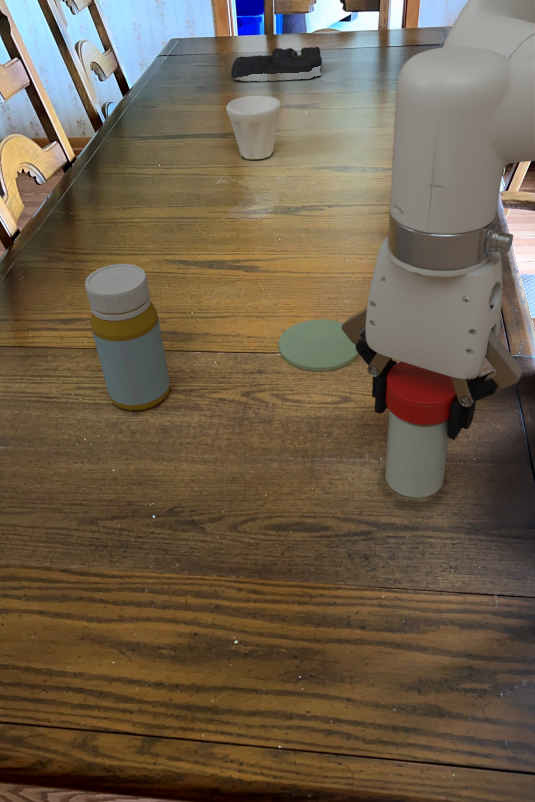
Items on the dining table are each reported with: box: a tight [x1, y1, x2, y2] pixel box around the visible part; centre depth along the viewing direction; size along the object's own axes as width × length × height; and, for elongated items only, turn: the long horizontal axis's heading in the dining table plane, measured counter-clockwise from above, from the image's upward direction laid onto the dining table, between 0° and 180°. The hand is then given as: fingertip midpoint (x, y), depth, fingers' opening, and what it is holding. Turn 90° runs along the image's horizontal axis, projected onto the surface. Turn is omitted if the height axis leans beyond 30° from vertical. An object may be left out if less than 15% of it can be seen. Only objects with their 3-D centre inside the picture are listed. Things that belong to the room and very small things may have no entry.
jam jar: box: [384, 409, 451, 499], centre depth 66 cm, size 6×6×11 cm
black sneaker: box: [231, 46, 323, 78], centre depth 173 cm, size 15×22×5 cm
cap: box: [386, 361, 457, 425], centre depth 62 cm, size 6×6×2 cm
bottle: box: [84, 263, 171, 412], centre depth 77 cm, size 7×7×15 cm
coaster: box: [278, 318, 360, 372], centre depth 86 cm, size 10×10×1 cm
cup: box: [225, 95, 282, 159], centre depth 132 cm, size 10×10×9 cm
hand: (420, 415), depth 64 cm, fingers closed on cap, 6 cm apart
